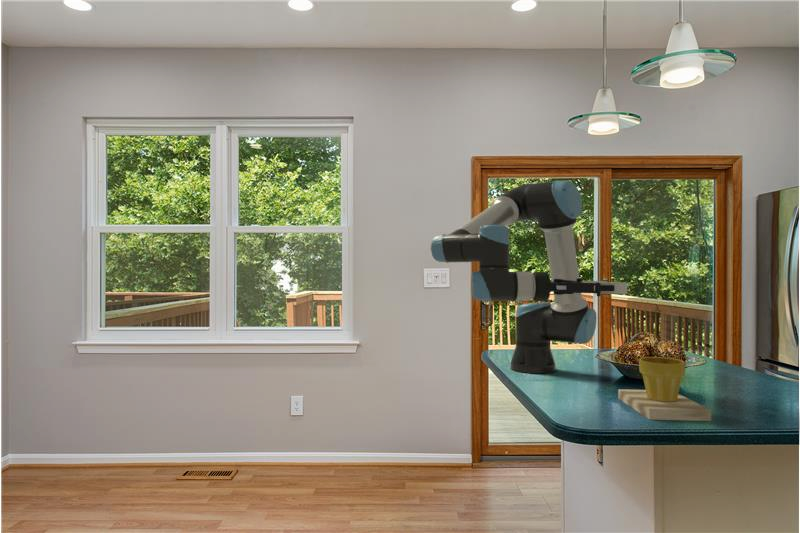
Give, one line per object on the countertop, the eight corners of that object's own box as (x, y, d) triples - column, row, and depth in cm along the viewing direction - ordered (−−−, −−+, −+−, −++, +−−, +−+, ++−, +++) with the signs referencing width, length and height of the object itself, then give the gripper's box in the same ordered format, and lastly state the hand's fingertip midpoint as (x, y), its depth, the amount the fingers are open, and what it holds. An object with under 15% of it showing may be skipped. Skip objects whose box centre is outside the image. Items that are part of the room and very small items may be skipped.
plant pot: (637, 400, 131) (637, 361, 131) (640, 392, 140) (640, 355, 140) (684, 406, 126) (685, 365, 126) (685, 397, 135) (685, 358, 135)
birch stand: (618, 398, 143) (618, 389, 143) (671, 399, 142) (671, 390, 142) (649, 419, 123) (649, 408, 123) (711, 420, 122) (711, 410, 122)
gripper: (522, 298, 148) (599, 298, 147) (543, 304, 123) (636, 305, 122) (522, 271, 148) (599, 271, 147) (543, 272, 123) (636, 272, 122)
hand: (616, 287), depth 135 cm, fingers open, 13 cm apart
